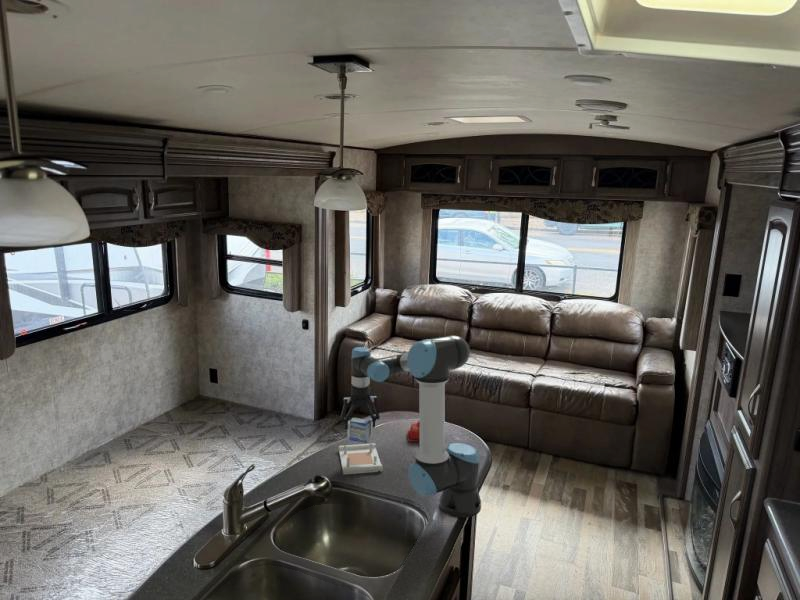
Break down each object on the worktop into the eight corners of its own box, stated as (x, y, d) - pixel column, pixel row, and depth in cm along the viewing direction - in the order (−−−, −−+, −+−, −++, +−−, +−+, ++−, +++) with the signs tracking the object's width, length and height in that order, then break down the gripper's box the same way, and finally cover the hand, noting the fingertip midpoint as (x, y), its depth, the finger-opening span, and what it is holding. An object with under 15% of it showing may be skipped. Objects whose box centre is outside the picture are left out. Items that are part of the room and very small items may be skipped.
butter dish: (431, 432, 262) (431, 416, 260) (432, 444, 250) (433, 426, 249) (407, 432, 262) (407, 415, 260) (407, 443, 250) (407, 426, 249)
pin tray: (382, 471, 225) (382, 461, 224) (343, 474, 222) (343, 464, 221) (375, 448, 244) (375, 439, 244) (339, 451, 241) (339, 441, 240)
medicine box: (348, 440, 231) (349, 421, 229) (352, 435, 235) (353, 416, 233) (366, 443, 228) (367, 424, 227) (370, 438, 233) (370, 419, 231)
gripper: (384, 380, 232) (383, 429, 237) (333, 382, 228) (333, 432, 233) (388, 386, 225) (386, 437, 230) (334, 389, 221) (334, 441, 226)
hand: (359, 435), depth 231 cm, fingers closed on medicine box, 9 cm apart
